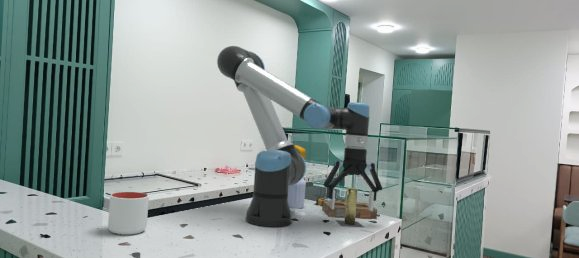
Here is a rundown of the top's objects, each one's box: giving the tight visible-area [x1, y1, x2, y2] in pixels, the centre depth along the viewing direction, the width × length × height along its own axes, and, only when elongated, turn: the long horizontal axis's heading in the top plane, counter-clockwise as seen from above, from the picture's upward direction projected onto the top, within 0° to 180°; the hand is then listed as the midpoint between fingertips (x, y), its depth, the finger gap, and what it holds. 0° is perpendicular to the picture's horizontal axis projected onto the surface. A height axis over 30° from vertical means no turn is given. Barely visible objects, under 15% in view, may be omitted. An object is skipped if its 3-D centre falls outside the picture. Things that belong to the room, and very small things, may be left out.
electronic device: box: [315, 196, 346, 207], centre depth 171 cm, size 8×16×3 cm, turn 56°
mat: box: [335, 219, 365, 228], centre depth 142 cm, size 8×8×1 cm
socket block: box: [321, 201, 378, 220], centre depth 157 cm, size 12×18×4 cm
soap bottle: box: [288, 144, 307, 210], centre depth 165 cm, size 9×9×25 cm
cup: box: [107, 191, 150, 236], centre depth 114 cm, size 10×10×10 cm
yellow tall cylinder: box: [343, 187, 359, 225], centre depth 141 cm, size 4×4×12 cm
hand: (351, 209), depth 141 cm, fingers open, 13 cm apart
